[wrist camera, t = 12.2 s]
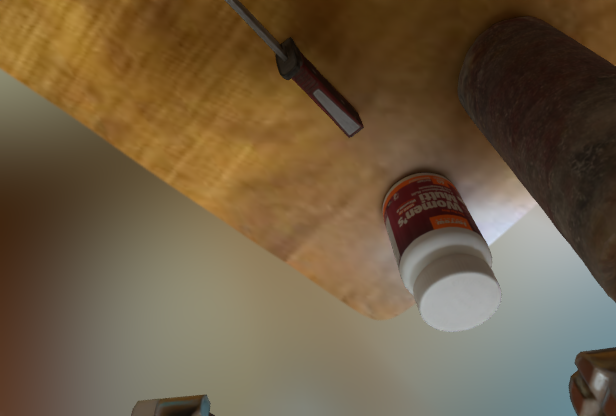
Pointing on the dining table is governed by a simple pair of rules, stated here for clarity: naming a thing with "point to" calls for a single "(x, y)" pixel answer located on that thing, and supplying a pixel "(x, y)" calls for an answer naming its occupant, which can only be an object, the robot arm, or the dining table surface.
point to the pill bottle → (440, 253)
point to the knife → (305, 75)
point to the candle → (551, 128)
